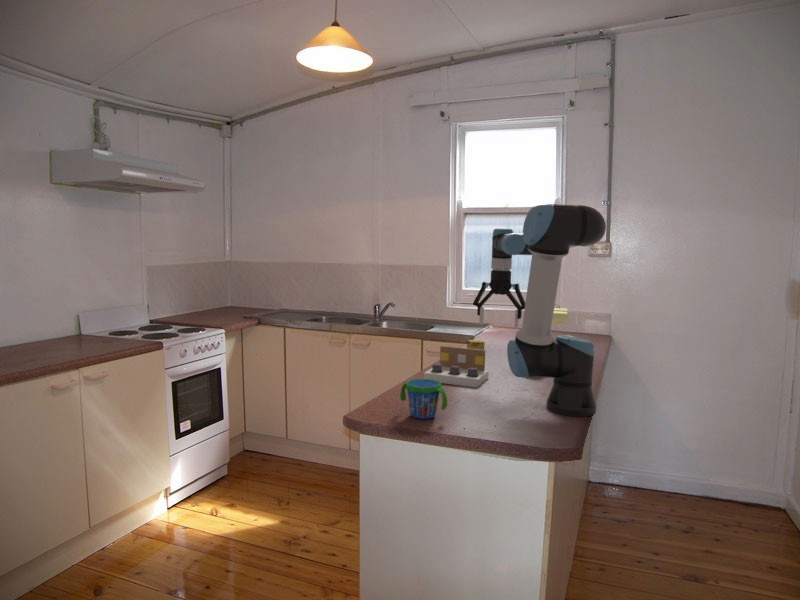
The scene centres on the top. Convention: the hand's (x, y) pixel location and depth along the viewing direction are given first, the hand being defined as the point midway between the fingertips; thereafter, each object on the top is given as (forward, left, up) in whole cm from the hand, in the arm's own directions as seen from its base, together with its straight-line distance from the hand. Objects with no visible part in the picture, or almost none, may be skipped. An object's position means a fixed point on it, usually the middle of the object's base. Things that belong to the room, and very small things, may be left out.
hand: (498, 325), depth 210 cm
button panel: (-6, +14, -21) cm, 26 cm away
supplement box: (+21, +14, -21) cm, 33 cm away
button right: (-9, +7, -19) cm, 22 cm away
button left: (-9, +21, -19) cm, 30 cm away
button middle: (-9, +14, -19) cm, 25 cm away
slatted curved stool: (+98, -8, -21) cm, 100 cm away
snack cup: (-55, +10, -21) cm, 60 cm away
